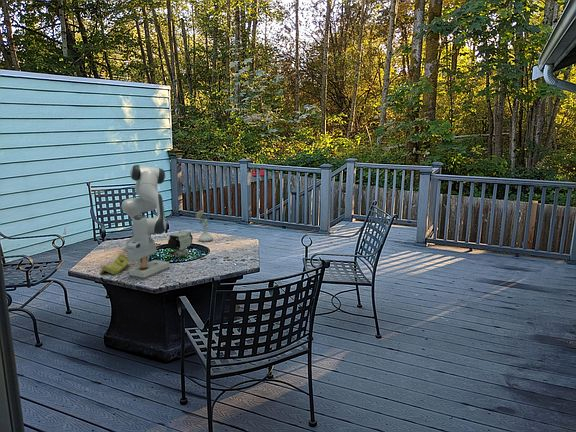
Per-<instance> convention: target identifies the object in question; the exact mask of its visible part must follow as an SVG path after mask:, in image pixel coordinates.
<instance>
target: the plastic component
mask: <svg viewBox="0 0 576 432" xmlns="http://www.w3.org/2000/svg"><path fill="white" fill-rule="evenodd" d="M130 262H131V261H129V260H128V258H127V255H125V254H123V253H122V254H118V256H117V258H115V260H114V261H113V262H112V263H111V264H110V265H108V266H107V265H103V266H102V268H101V270H100V271H99V274H101V273H102V274H104V273H105V272H107V273H109V274H112V275H114V274H116V275H118V274H119V273H120V271H121V272H122V271H123V270H124V269H126V267H127V266H128V265H129V263H130ZM103 272H104V273H103Z"/></svg>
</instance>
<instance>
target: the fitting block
mask: <svg viewBox="0 0 576 432" xmlns="http://www.w3.org/2000/svg"><path fill="white" fill-rule="evenodd" d="M168 269H170V261H165V260H159V259H158V260H157V259H154V260H151V261H148V263H147V269H146V270H140V266H138V265H137V266H136V267H133V268H130V269H128V276H129V277H130V276H131V278H134V279H136V278H137V279H140V280H141V279H142V280H146V279H147V278H150V277H153V276H155V275H157V274H159V273H162V272H165V271H166V270H168Z"/></svg>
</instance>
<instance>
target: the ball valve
mask: <svg viewBox="0 0 576 432" xmlns="http://www.w3.org/2000/svg"><path fill="white" fill-rule="evenodd" d="M193 239H194V238H193V235H192V233H191V231H186V230H185V231H184V230H182V231H181V230H179V231H178V232H175V233H173V234H170V235H169V239H168V241H167V245H168V247H169V249H170V250H175V252H174V256H175V257H176V258H182V257H188V255H189V250H188V249H187V248H188V247H190V246H192V244H193Z"/></svg>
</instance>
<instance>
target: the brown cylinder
mask: <svg viewBox="0 0 576 432" xmlns="http://www.w3.org/2000/svg"><path fill="white" fill-rule="evenodd" d="M140 262H141V263H142V265H141V266H140V270H146V269H147V260H146V257H143V258H141V259H140Z"/></svg>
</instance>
